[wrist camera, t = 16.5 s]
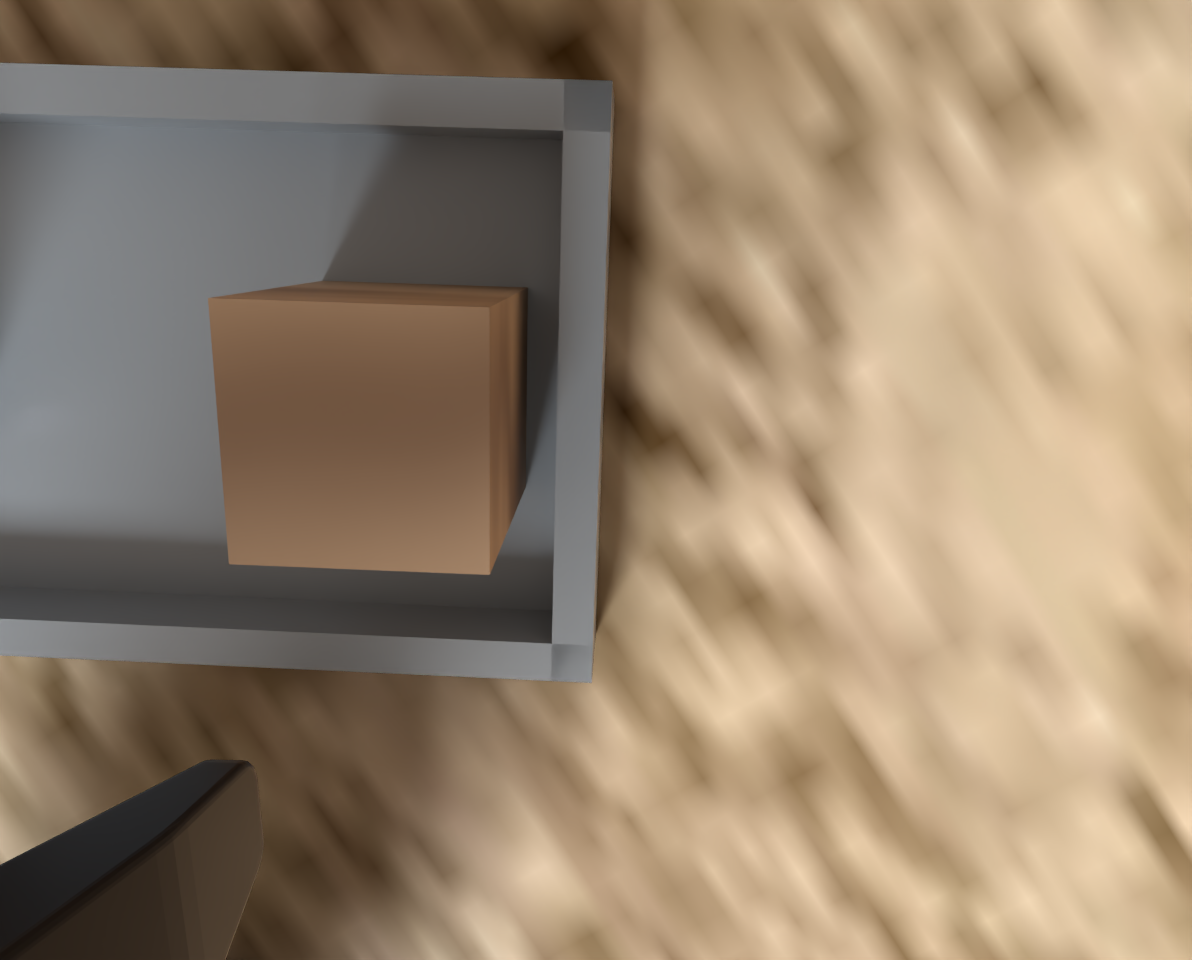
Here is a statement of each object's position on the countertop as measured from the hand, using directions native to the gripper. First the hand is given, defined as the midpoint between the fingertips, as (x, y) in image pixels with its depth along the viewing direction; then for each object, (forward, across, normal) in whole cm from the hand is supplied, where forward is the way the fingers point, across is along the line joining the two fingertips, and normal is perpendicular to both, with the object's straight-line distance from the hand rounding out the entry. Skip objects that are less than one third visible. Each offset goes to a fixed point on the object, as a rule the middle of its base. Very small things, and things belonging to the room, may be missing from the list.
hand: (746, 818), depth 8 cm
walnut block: (+11, +5, -2) cm, 12 cm away
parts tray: (+11, +11, -2) cm, 16 cm away
